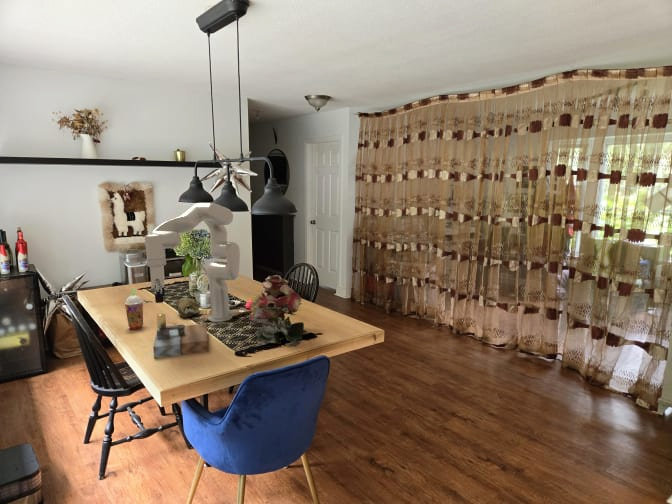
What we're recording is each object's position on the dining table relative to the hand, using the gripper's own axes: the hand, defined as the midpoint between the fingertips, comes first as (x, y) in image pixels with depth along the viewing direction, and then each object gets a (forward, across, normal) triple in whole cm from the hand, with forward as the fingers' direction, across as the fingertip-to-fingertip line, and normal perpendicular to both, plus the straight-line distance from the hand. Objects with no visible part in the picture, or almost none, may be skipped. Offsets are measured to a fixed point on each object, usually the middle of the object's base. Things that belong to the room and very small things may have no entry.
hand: (160, 299), depth 186 cm
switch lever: (+14, 0, +3) cm, 15 cm away
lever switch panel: (+22, +1, +7) cm, 24 cm away
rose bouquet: (+23, +4, +50) cm, 56 cm away
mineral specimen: (+23, -44, +10) cm, 51 cm away
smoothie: (+23, -32, -16) cm, 42 cm away
